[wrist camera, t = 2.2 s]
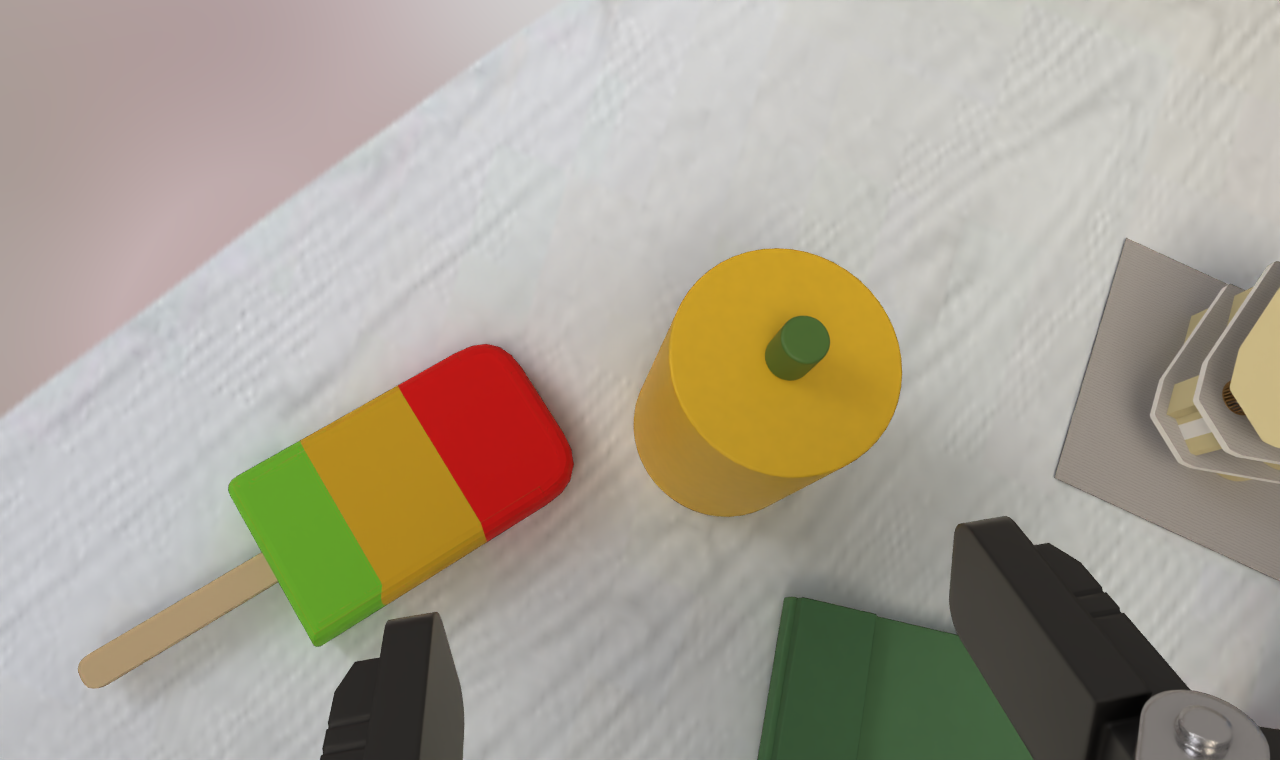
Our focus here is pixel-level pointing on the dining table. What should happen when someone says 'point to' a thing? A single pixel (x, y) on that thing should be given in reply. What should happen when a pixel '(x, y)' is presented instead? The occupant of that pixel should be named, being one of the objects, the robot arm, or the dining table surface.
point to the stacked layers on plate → (1185, 407)
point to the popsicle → (376, 503)
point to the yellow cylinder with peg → (766, 382)
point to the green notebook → (877, 692)
